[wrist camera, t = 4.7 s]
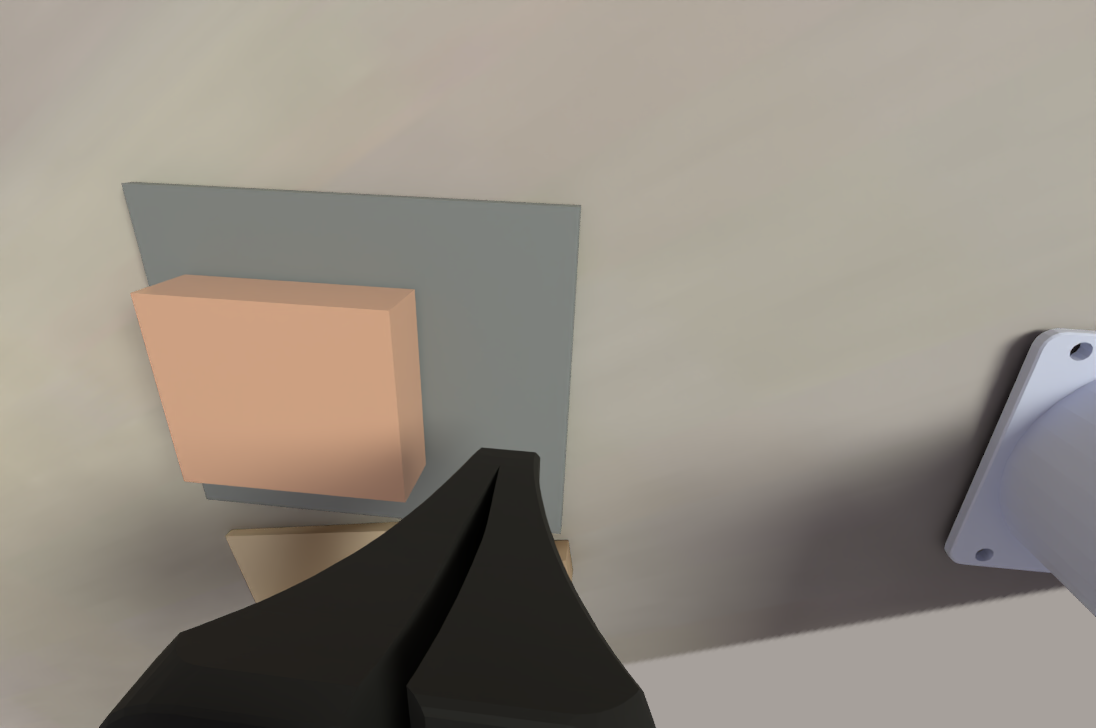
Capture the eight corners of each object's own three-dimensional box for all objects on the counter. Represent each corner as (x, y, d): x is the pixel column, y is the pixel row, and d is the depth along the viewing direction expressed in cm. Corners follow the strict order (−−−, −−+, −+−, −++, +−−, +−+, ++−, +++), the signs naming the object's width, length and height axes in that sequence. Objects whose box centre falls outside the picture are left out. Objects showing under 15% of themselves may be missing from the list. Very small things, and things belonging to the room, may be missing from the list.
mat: (581, 205, 14) (580, 207, 14) (561, 526, 19) (560, 533, 19) (132, 181, 15) (121, 183, 15) (214, 492, 20) (206, 499, 20)
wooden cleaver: (564, 515, 19) (561, 535, 18) (576, 592, 20) (574, 614, 19) (233, 527, 21) (216, 545, 20) (265, 596, 22) (249, 616, 21)
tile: (389, 310, 14) (130, 292, 14) (405, 502, 16) (184, 481, 16) (416, 287, 15) (188, 272, 16) (427, 461, 18) (229, 443, 18)
